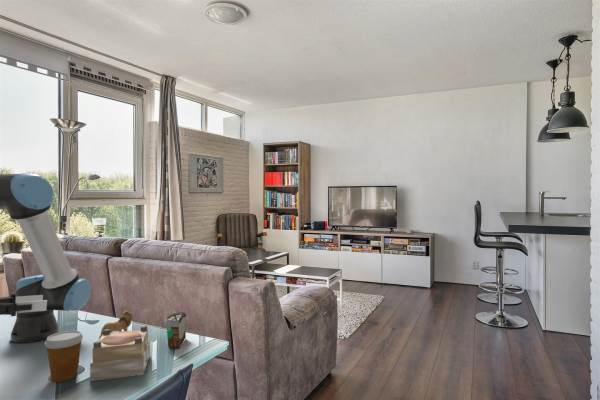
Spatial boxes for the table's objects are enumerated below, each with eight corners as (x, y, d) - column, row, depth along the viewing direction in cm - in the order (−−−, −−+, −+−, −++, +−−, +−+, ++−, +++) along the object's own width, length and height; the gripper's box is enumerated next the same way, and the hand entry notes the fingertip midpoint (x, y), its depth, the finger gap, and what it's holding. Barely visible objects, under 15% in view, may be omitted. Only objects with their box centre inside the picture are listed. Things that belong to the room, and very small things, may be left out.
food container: (169, 338, 139) (169, 311, 139) (186, 337, 139) (186, 310, 139) (160, 351, 126) (159, 321, 127) (178, 350, 127) (178, 321, 127)
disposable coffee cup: (65, 386, 102) (64, 342, 103) (36, 383, 104) (36, 340, 104) (91, 371, 112) (90, 331, 112) (64, 368, 114) (63, 329, 114)
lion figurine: (125, 331, 147) (125, 308, 147) (136, 333, 145) (135, 309, 145) (93, 345, 133) (93, 319, 133) (105, 346, 131) (105, 321, 131)
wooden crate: (102, 361, 119) (102, 329, 119) (149, 356, 122) (149, 325, 123) (90, 381, 105) (90, 344, 105) (143, 374, 109) (143, 339, 109)
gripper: (-53, 317, 103) (39, 309, 116) (-66, 333, 84) (47, 322, 97) (-50, 289, 104) (42, 285, 117) (-62, 299, 85) (49, 293, 98)
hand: (44, 302), depth 107 cm, fingers open, 13 cm apart
